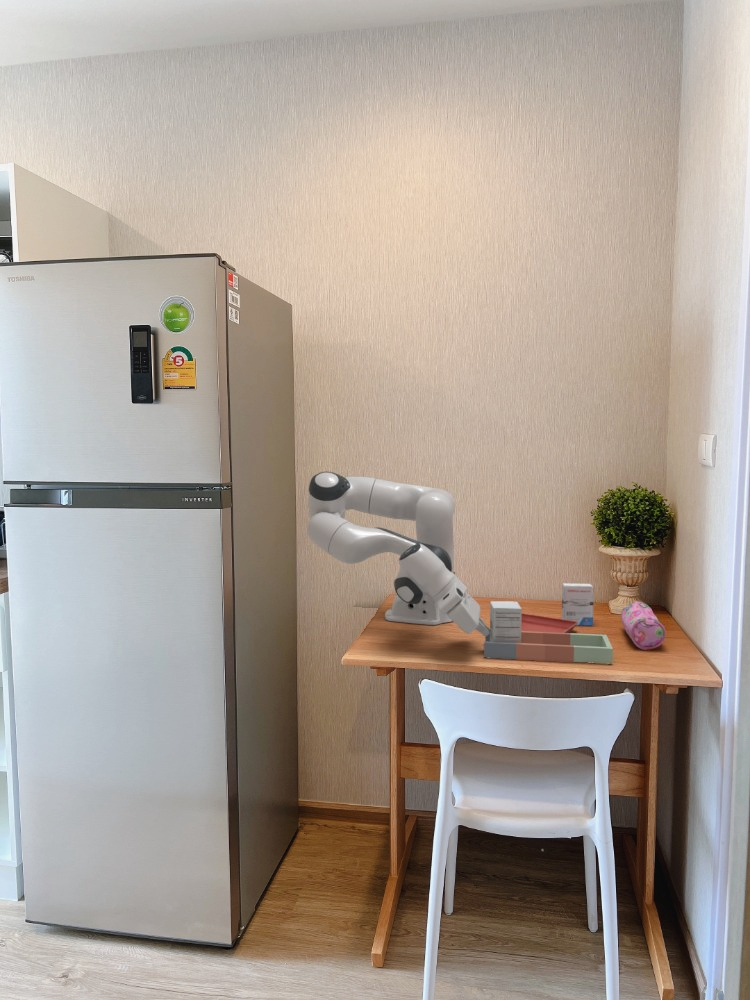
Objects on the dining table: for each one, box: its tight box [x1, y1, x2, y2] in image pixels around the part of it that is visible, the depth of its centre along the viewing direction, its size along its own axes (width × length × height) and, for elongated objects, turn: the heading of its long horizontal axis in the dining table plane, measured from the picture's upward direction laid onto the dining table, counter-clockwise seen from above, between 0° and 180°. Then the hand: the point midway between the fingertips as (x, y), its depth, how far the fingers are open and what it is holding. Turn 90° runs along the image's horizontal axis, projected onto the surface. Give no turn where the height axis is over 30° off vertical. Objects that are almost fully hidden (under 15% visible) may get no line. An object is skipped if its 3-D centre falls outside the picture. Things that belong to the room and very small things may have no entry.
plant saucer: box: [521, 613, 578, 633], centre depth 210 cm, size 18×18×3 cm
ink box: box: [561, 582, 595, 627], centre depth 221 cm, size 8×5×12 cm, turn 84°
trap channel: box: [483, 631, 614, 664], centre depth 192 cm, size 31×12×4 cm, turn 80°
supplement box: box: [489, 600, 522, 643], centre depth 193 cm, size 7×7×13 cm
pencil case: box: [620, 600, 667, 651], centre depth 204 cm, size 21×9×9 cm, turn 168°
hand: (487, 633), depth 194 cm, fingers closed
